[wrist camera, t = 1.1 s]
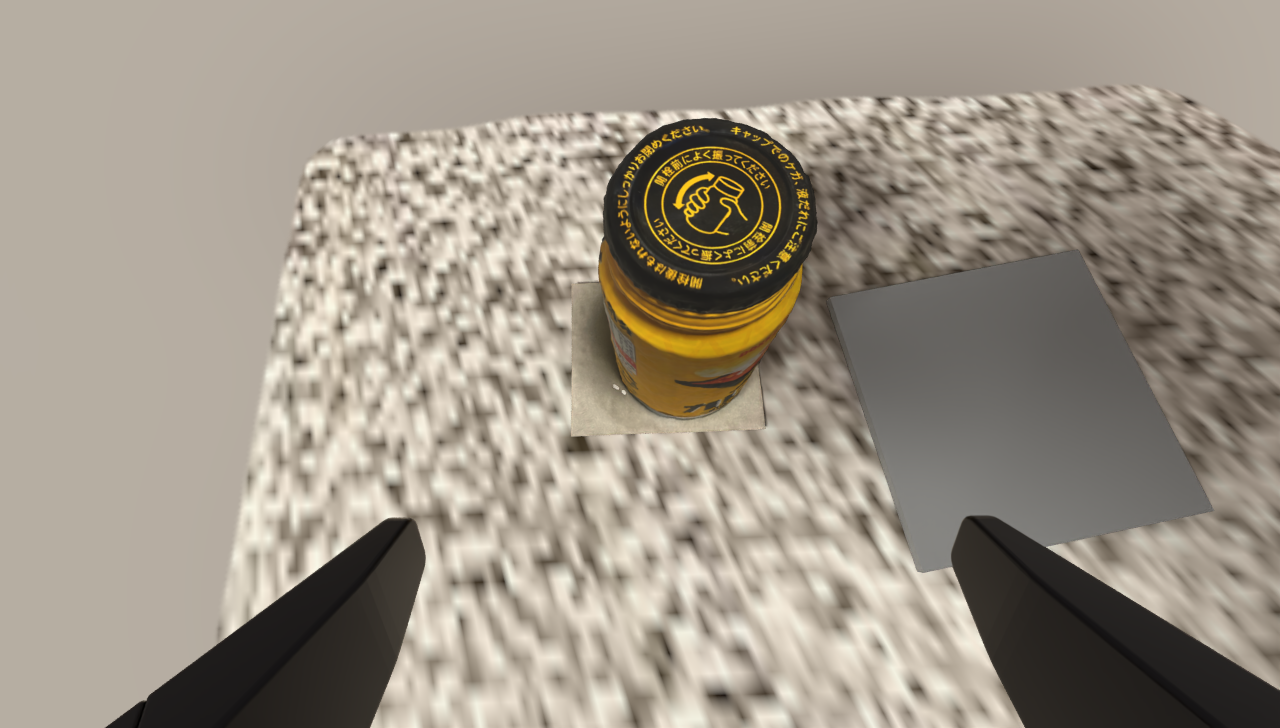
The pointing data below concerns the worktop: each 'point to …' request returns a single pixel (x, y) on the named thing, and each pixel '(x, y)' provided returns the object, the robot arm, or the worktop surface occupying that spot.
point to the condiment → (690, 281)
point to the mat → (1010, 407)
